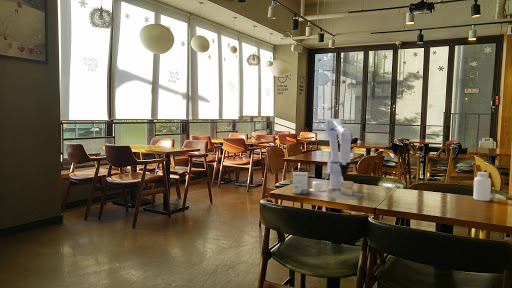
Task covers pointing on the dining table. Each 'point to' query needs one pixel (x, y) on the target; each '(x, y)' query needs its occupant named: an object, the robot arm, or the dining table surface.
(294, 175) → the ink box
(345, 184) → the beech block
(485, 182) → the pill bottle
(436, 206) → the dining table surface
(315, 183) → the espresso cup
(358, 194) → the mat
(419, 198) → the dining table surface
